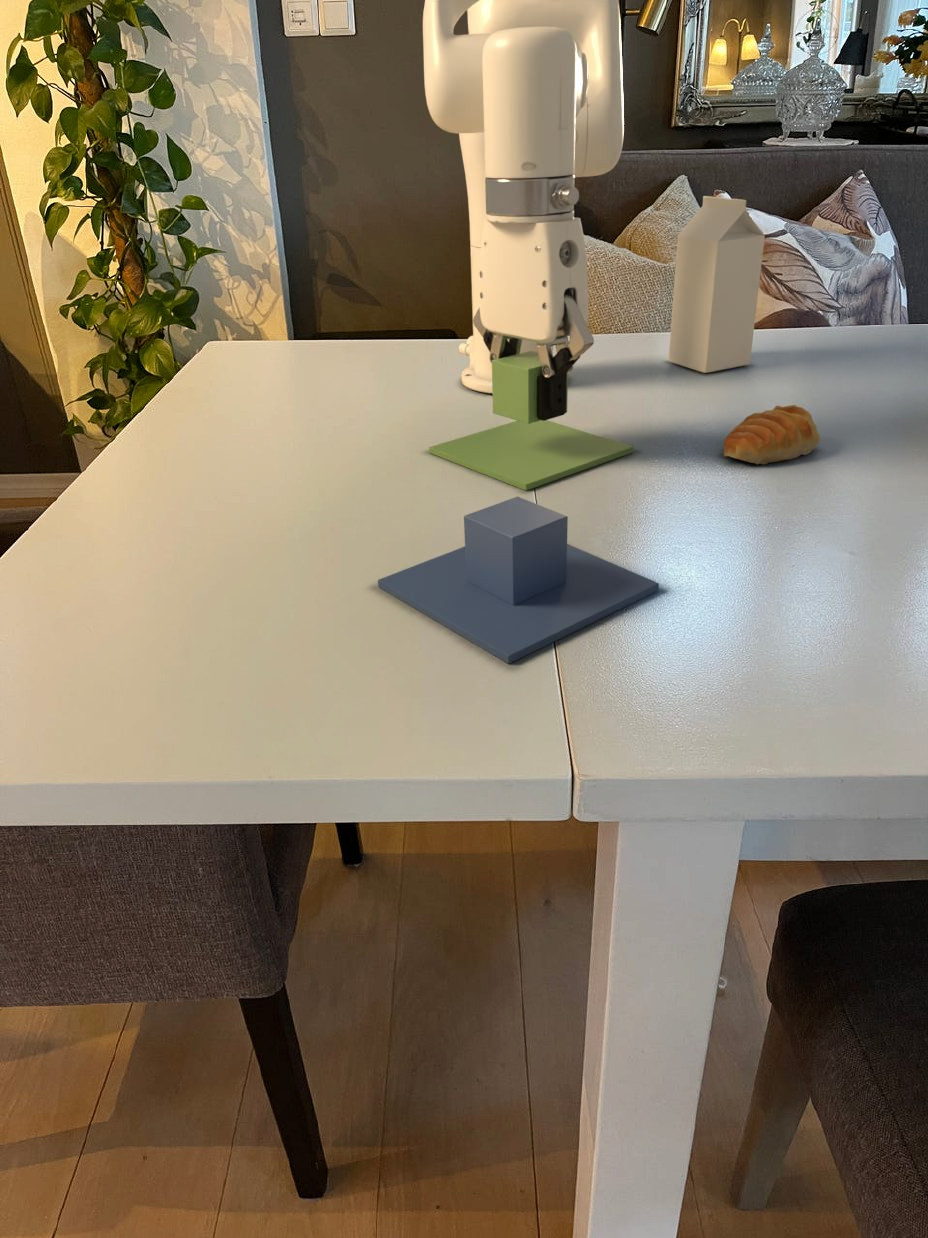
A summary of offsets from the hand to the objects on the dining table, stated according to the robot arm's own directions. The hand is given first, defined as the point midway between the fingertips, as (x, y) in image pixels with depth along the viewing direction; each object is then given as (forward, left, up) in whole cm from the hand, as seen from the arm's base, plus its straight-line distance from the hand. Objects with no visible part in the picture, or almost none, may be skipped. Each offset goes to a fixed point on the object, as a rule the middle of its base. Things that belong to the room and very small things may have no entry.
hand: (530, 408), depth 87 cm
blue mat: (+20, -20, -4) cm, 28 cm away
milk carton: (-8, +38, -5) cm, 39 cm away
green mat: (0, 0, -4) cm, 4 cm away
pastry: (+16, +16, -5) cm, 23 cm away
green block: (0, 0, 0) cm, 0 cm away
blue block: (+20, -20, -4) cm, 28 cm away
